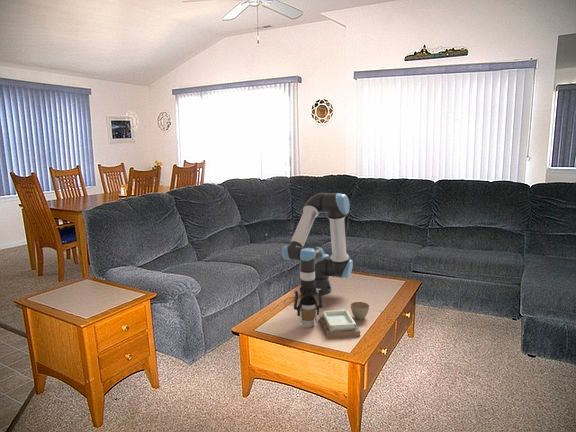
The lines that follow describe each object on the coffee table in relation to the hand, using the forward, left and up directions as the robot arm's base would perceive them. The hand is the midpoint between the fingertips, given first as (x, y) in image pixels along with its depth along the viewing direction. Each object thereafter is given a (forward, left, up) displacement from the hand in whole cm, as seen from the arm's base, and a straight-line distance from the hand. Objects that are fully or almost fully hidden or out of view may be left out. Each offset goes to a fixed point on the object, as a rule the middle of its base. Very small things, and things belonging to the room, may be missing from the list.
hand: (308, 321), depth 219 cm
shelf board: (+5, +15, -2) cm, 16 cm away
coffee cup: (0, 0, -2) cm, 2 cm away
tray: (+5, +15, 0) cm, 16 cm away
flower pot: (-5, +29, -2) cm, 30 cm away
